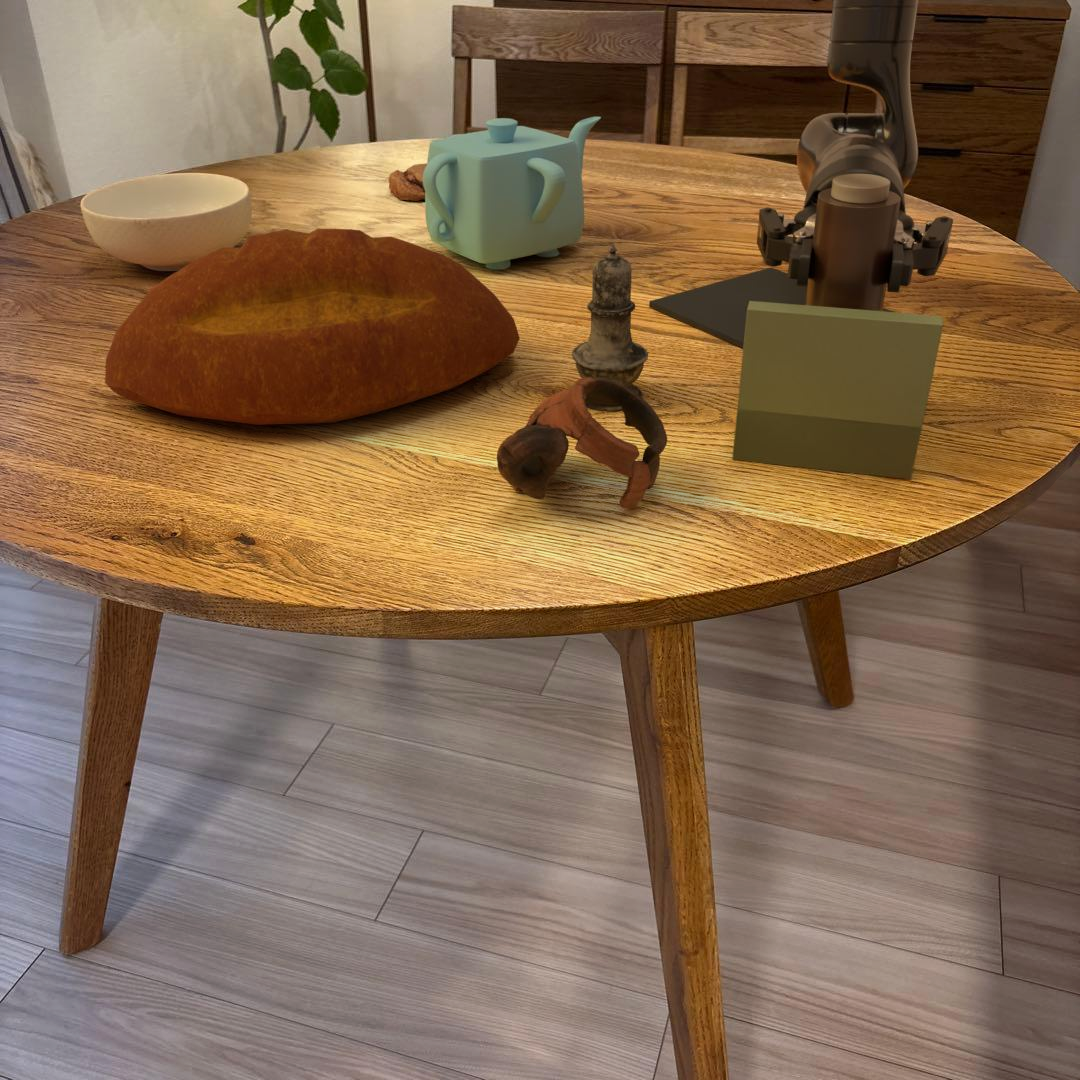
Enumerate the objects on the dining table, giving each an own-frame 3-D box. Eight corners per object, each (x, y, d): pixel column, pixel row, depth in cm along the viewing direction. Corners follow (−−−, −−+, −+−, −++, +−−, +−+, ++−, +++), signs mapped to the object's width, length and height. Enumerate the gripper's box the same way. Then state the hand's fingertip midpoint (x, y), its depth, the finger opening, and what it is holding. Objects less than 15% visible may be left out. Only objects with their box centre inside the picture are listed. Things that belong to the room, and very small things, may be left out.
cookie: (468, 202, 128) (467, 177, 127) (383, 203, 129) (381, 178, 127) (474, 181, 137) (473, 158, 135) (394, 182, 137) (392, 158, 135)
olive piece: (748, 388, 82) (763, 251, 76) (906, 404, 80) (934, 263, 74) (732, 459, 73) (747, 309, 67) (911, 479, 70) (943, 325, 64)
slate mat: (770, 272, 105) (770, 267, 105) (898, 319, 94) (899, 313, 94) (648, 307, 98) (649, 301, 97) (772, 362, 87) (773, 355, 86)
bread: (543, 420, 78) (541, 258, 72) (89, 462, 74) (41, 293, 67) (502, 319, 96) (498, 181, 89) (133, 348, 91) (98, 205, 84)
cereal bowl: (61, 278, 107) (42, 209, 103) (157, 231, 120) (143, 168, 116) (205, 293, 103) (191, 221, 99) (288, 243, 116) (278, 177, 112)
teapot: (560, 283, 104) (561, 142, 96) (406, 271, 107) (395, 134, 100) (599, 230, 118) (602, 104, 111) (462, 221, 122) (456, 98, 115)
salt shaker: (558, 389, 83) (557, 239, 76) (621, 374, 85) (626, 227, 78) (594, 418, 78) (597, 262, 72) (660, 402, 81) (669, 249, 74)
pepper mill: (834, 334, 77) (857, 166, 70) (890, 356, 73) (920, 181, 67) (783, 351, 74) (803, 179, 68) (840, 375, 71) (866, 195, 64)
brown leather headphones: (559, 442, 76) (618, 358, 71) (638, 537, 73) (706, 456, 68) (440, 464, 67) (498, 369, 63) (525, 573, 64) (593, 482, 59)
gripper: (765, 151, 81) (743, 211, 68) (959, 158, 78) (977, 223, 64) (756, 246, 85) (734, 321, 72) (940, 256, 82) (954, 337, 68)
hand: (849, 274), depth 68 cm, fingers closed on pepper mill, 5 cm apart
